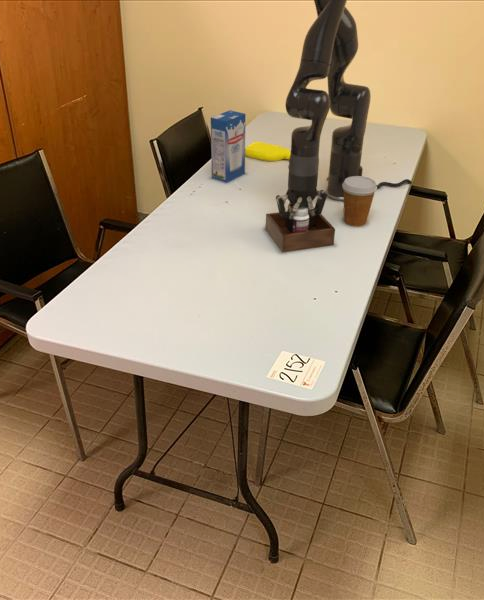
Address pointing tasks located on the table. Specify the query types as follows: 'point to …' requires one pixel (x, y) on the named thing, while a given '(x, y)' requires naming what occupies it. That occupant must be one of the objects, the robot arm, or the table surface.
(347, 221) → the disposable coffee cup
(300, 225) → the pill bottle
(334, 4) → the robot arm
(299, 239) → the wooden box
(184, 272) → the table surface
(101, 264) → the table surface
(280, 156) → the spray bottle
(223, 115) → the milk carton
